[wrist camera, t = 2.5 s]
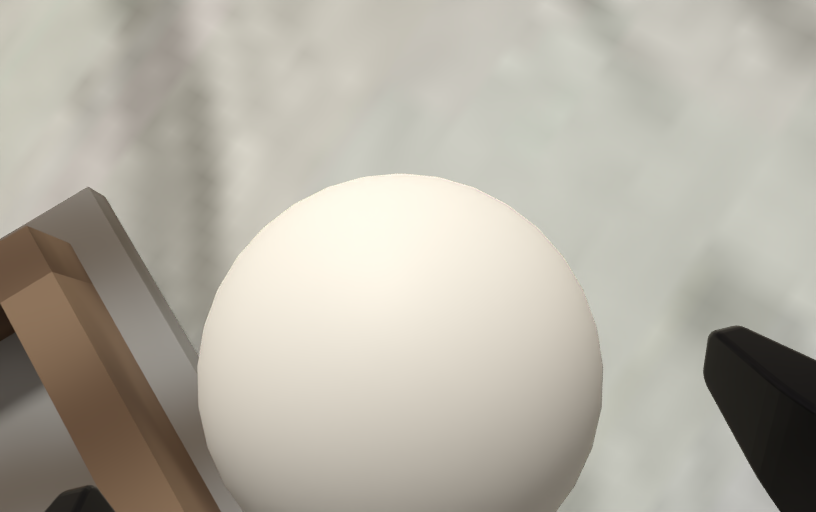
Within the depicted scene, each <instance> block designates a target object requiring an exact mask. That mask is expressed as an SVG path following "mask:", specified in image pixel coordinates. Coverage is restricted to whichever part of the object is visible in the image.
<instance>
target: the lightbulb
mask: <svg viewBox="0 0 816 512" xmlns="http://www.w3.org/2000/svg"><path fill="white" fill-rule="evenodd" d="M197 372H198V407H199V412H200V416H201V421H202V425H203V430H204V434H205V438H206V443H207V447H208V449H209V452H210V454H211V456H212V458H213V461H214V463H215V465H216V467H217V470H218V472H219V474H220V476H221V479H222V481H223V483H224V485H225V487H226V488H227V489H228V491H229V492H230V494H231V495H232V496H233V498H234V499H235V501H236V502H237V503H238V505H239V506H240V508H241V509H242V510H243V512H556V511H557V510H558V508H559V507H560V505H561V504H562V503H563V501H564V500H565V499H566V497H567V496H568V495H569V493H570V492H571V490H572V489H573V488H574V486H575V484H576V482H577V480H578V478H579V476H580V473H581V471H582V469H583V467H584V465H585V462H586V460H587V458H588V456H589V454H590V452H591V449H592V446H593V442H594V438H595V434H596V429H597V425H598V421H599V417H600V412H601V408H602V382H603V364H602V358H601V351H600V345H599V338H598V332H597V327H596V324H595V321H594V318H593V316H592V313H591V310H590V307H589V305H588V302H587V299H586V296H585V294H584V291H583V289H582V287H581V285H580V284H579V282H578V280H577V279H576V277H575V275H574V274H573V272H572V270H571V269H570V267H569V265H568V264H567V262H566V260H565V259H564V257H563V256H562V255H561V253H560V252H559V251H558V250H557V249H556V248H555V247H554V246H553V244H552V243H551V242H550V241H549V240H548V239H547V238H546V236H545V235H544V234H543V233H542V232H541V231H540V230H539V229H538V228H537V227H536V226H535V225H534V224H532V223H531V222H530V221H528V220H527V219H526V218H524V217H523V216H522V215H521V214H519V213H518V212H517V211H515V210H514V209H513V208H512V207H510V206H509V205H508V204H506V203H504V202H502V201H500V200H498V199H496V198H494V197H492V196H490V195H488V194H486V193H484V192H482V191H480V190H478V189H476V188H474V187H471V186H467V185H464V184H460V183H457V182H454V181H450V180H447V179H443V178H440V177H433V176H422V175H412V174H390V175H379V176H368V177H362V178H358V179H355V180H351V181H348V182H344V183H341V184H337V185H334V186H330V187H327V188H325V189H323V190H321V191H319V192H317V193H315V194H313V195H311V196H309V197H307V198H305V199H303V200H301V201H299V202H297V203H295V204H294V205H292V206H291V207H290V208H288V209H287V210H286V211H284V212H283V213H282V214H281V215H279V216H278V217H277V218H275V219H274V220H273V221H271V222H270V223H269V224H267V225H266V226H265V227H264V228H263V229H262V230H261V231H260V232H259V233H258V234H257V235H256V237H255V238H254V239H253V240H252V241H251V242H250V243H249V244H248V245H247V247H246V248H245V249H244V250H243V251H242V252H241V253H240V254H239V255H238V257H237V258H236V260H235V262H234V263H233V265H232V267H231V268H230V270H229V272H228V273H227V275H226V277H225V278H224V280H223V282H222V283H221V285H220V287H219V288H218V290H217V293H216V296H215V298H214V301H213V304H212V306H211V309H210V312H209V314H208V317H207V320H206V322H205V325H204V329H203V335H202V341H201V347H200V353H199V359H198V365H197Z"/></svg>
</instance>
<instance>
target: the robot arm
mask: <svg viewBox="0 0 816 512" xmlns="http://www.w3.org/2000/svg"><path fill="white" fill-rule="evenodd" d="M703 374H704V379H705V382H706V385H707V387H708V389H709V391H710V393H711V395H712V396H713V398H714V400H715V402H716V404H717V406H718V407H719V409H720V411H721V413H722V415H723V417H724V418H725V420H726V422H727V424H728V426H729V428H730V429H731V431H732V433H733V435H734V437H735V439H736V440H737V442H738V444H739V446H740V448H741V450H742V451H743V453H744V455H745V457H746V459H747V461H748V462H749V464H750V466H751V468H752V469H753V471H754V473H755V474H756V476H757V478H758V479H759V481H760V483H761V484H762V486H763V487H764V489H765V490H766V492H767V493H768V495H769V496H770V498H771V499H772V500H773V502H774V503H775V505H776V506H777V508H778V509H779V511H780V512H816V360H814V359H812V358H810V357H808V356H806V355H804V354H801V353H799V352H797V351H795V350H793V349H791V348H788V347H786V346H784V345H782V344H780V343H778V342H775V341H773V340H771V339H769V338H767V337H765V336H762V335H760V334H758V333H756V332H754V331H752V330H749V329H747V328H745V327H742V326H731V327H727V328H722V329H718V330H715V331H713V332H711V333H710V335H709V336H708V341H707V348H706V355H705V361H704V368H703ZM44 512H115V510H114V509H113V508H112V506H111V505H110V504H109V502H108V501H107V500H106V498H105V497H104V496H103V494H102V493H101V492H100V490H99V489H98V488H97V487H95V486H93V485H86V486H82V487H78V488H73V489H69V490H66V491H64V492H62V493H61V494H59V495H58V496H57V497H56V498H55V500H54V501H53V502H52V503H51V504H50V505H49V507H48V508H47V509H46V510H45V511H44Z"/></svg>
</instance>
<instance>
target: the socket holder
mask: <svg viewBox="0 0 816 512" xmlns="http://www.w3.org/2000/svg"><path fill="white" fill-rule="evenodd" d="M198 359H199V357H198V355H197V353H196V352H195V350H194V348H193V346H192V345H191V343H190V341H189V340H188V338H187V336H186V334H185V333H184V331H183V329H182V328H181V326H180V324H179V322H178V321H177V319H176V317H175V316H174V314H173V312H172V311H171V309H170V307H169V305H168V304H167V302H166V300H165V299H164V297H163V295H162V293H161V292H160V290H159V288H158V287H157V285H156V283H155V281H154V280H153V278H152V276H151V275H150V273H149V271H148V269H147V268H146V266H145V264H144V263H143V261H142V259H141V257H140V256H139V254H138V252H137V251H136V249H135V247H134V245H133V244H132V242H131V240H130V239H129V237H128V235H127V233H126V232H125V230H124V228H123V227H122V225H121V223H120V222H119V220H118V218H117V216H116V215H115V213H114V211H113V210H112V208H111V206H110V204H109V203H108V201H107V199H106V198H105V197H104V196H103V195H101V194H99V193H98V192H96V191H94V190H93V189H91V188H89V187H87V188H85V189H84V190H82V191H80V192H78V193H77V194H75V195H73V196H72V197H70V198H68V199H67V200H65V201H63V202H62V203H60V204H58V205H57V206H55V207H53V208H52V209H50V210H48V211H46V212H45V213H43V214H41V215H40V216H38V217H36V218H35V219H33V220H31V221H30V222H28V223H26V224H25V225H23V226H21V227H20V228H18V229H16V230H15V231H13V232H11V233H9V234H8V235H6V236H4V237H3V238H1V239H0V512H44V511H45V510H46V509H47V508H48V507H49V505H50V504H51V503H52V502H53V501H54V500H55V498H56V497H57V496H58V495H59V494H61V493H62V492H64V491H66V490H69V489H73V488H78V487H82V486H86V485H93V486H95V487H97V488H98V489H99V490H100V492H101V493H102V494H103V496H104V497H105V498H106V500H107V501H108V502H109V504H110V505H111V506H112V508H113V509H114V510H115V512H243V510H242V509H241V508H240V506H239V505H238V503H237V502H236V501H235V499H234V498H233V496H232V495H231V494H230V492H229V491H228V489H227V488H226V487H225V485H224V483H223V481H222V479H221V476H220V474H219V472H218V470H217V467H216V465H215V463H214V461H213V458H212V456H211V454H210V452H209V449H208V447H207V443H206V438H205V434H204V430H203V425H202V421H201V416H200V412H199V407H198V372H197V365H198Z"/></svg>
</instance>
